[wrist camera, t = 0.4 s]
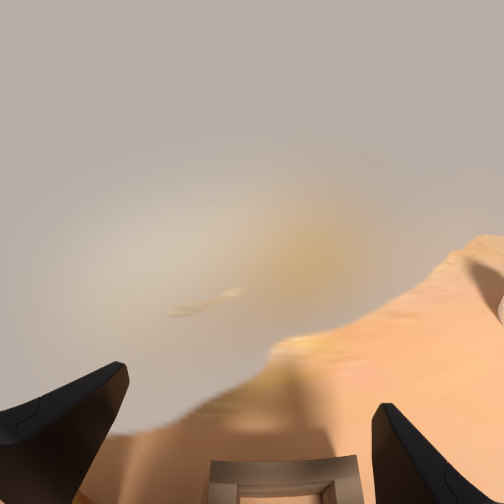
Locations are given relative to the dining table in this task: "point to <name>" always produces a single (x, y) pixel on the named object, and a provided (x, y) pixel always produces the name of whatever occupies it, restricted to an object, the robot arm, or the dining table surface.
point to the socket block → (286, 480)
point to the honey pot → (501, 311)
